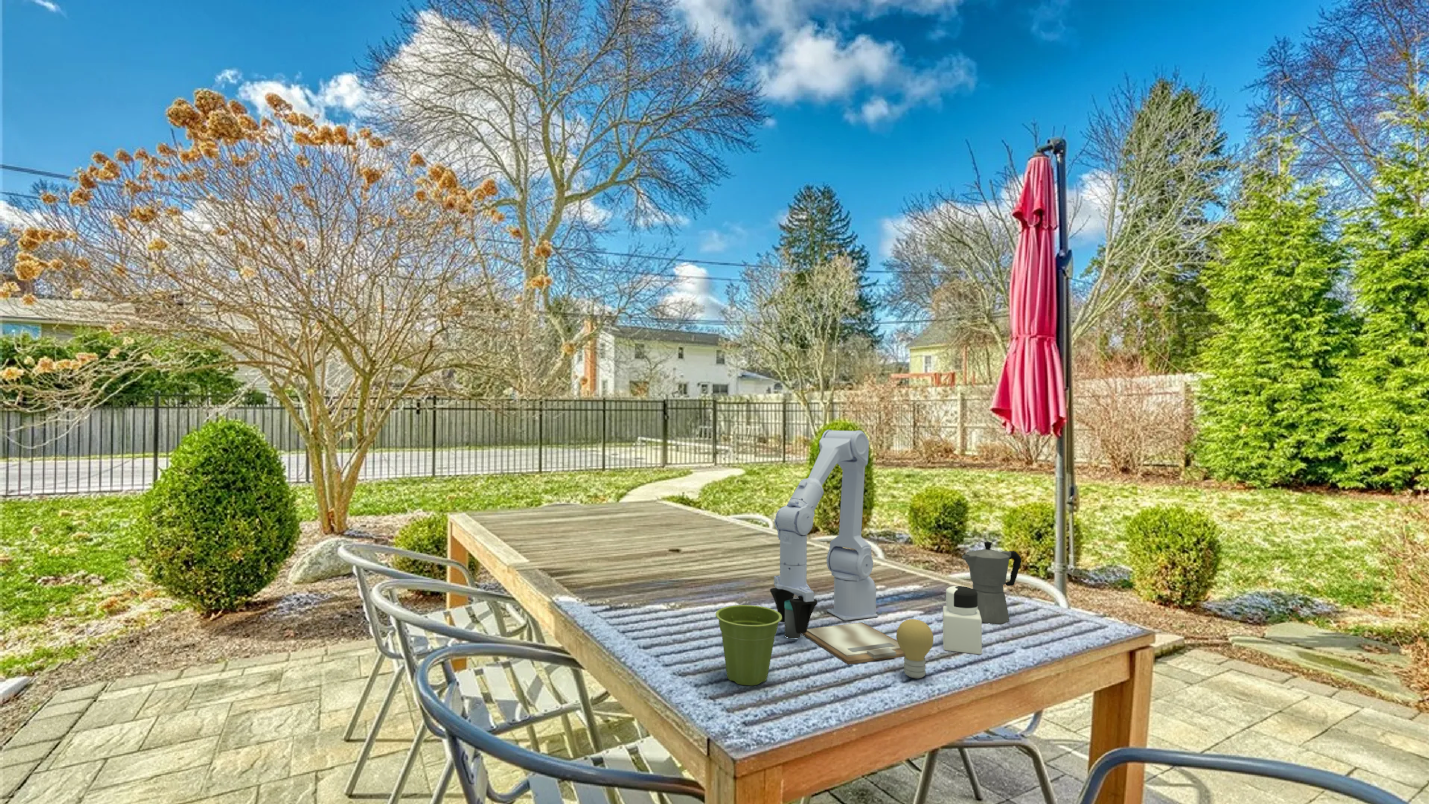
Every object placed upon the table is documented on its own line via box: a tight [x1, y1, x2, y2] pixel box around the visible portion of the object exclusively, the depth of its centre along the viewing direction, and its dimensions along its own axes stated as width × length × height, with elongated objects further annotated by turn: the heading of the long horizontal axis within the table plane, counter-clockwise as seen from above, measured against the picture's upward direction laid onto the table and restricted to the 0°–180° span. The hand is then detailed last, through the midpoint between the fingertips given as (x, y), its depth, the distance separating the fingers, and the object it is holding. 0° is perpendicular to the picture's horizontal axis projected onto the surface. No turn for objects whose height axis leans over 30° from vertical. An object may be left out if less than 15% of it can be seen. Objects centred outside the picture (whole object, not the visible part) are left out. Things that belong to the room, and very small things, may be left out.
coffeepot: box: [961, 541, 1022, 625], centre depth 148 cm, size 15×9×18 cm, turn 101°
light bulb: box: [896, 618, 934, 679], centre depth 113 cm, size 6×6×10 cm
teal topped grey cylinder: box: [784, 600, 802, 639], centre depth 133 cm, size 4×4×7 cm
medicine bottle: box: [942, 585, 983, 655], centre depth 128 cm, size 7×7×12 cm
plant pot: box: [715, 604, 782, 687], centre depth 111 cm, size 12×12×11 cm
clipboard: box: [801, 622, 905, 666], centre depth 129 cm, size 16×20×1 cm
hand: (792, 627), depth 133 cm, fingers open, 7 cm apart
